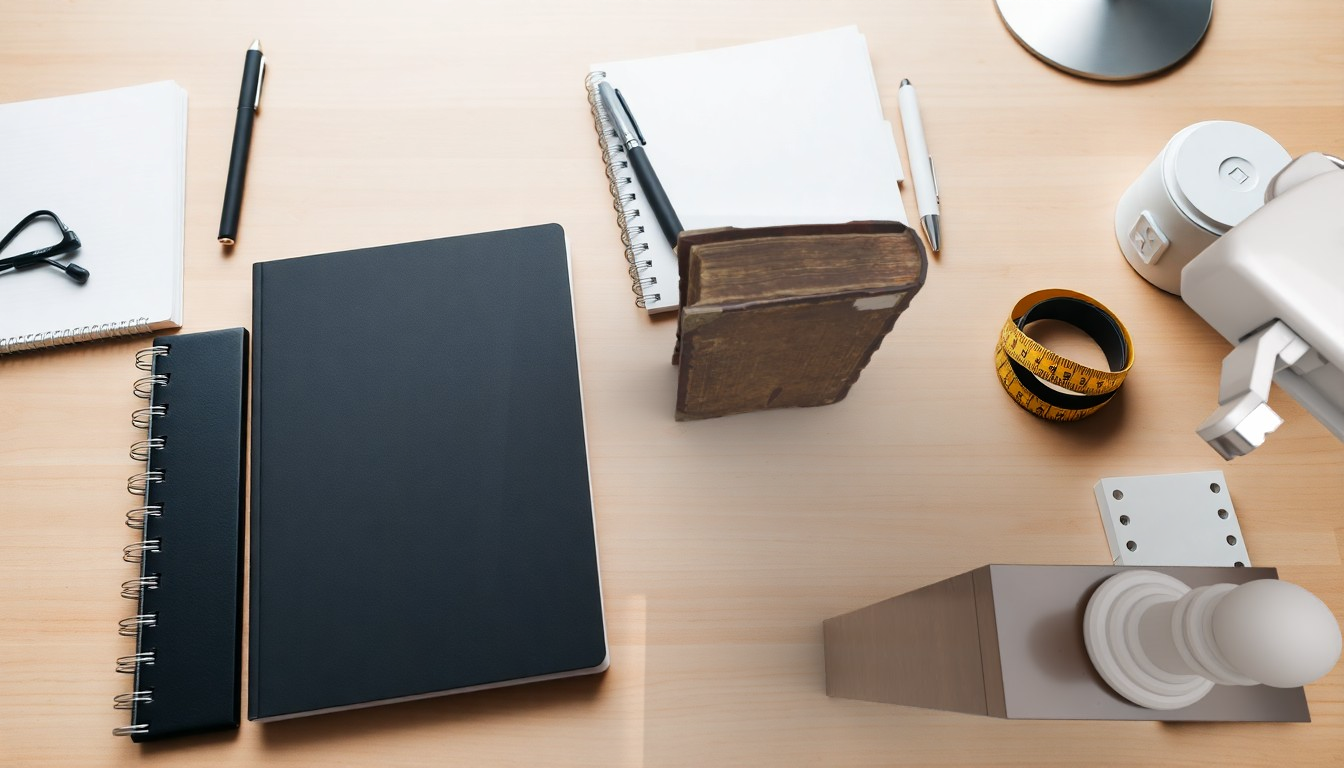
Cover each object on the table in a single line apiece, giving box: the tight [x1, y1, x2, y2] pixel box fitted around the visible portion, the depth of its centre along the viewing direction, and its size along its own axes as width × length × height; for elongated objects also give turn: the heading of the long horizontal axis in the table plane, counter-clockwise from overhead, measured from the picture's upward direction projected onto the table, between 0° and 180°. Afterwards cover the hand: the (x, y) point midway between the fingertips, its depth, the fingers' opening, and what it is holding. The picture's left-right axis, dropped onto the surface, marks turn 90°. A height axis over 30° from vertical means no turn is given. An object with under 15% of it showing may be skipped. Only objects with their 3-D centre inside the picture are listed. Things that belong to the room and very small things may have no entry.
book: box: [671, 219, 929, 422], centre depth 65 cm, size 17×7×25 cm, turn 90°
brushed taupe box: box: [822, 563, 1312, 724], centre depth 51 cm, size 12×6×38 cm, turn 89°
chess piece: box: [1083, 570, 1343, 710], centre depth 29 cm, size 5×5×9 cm
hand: (1329, 545), depth 29 cm, fingers open, 8 cm apart
